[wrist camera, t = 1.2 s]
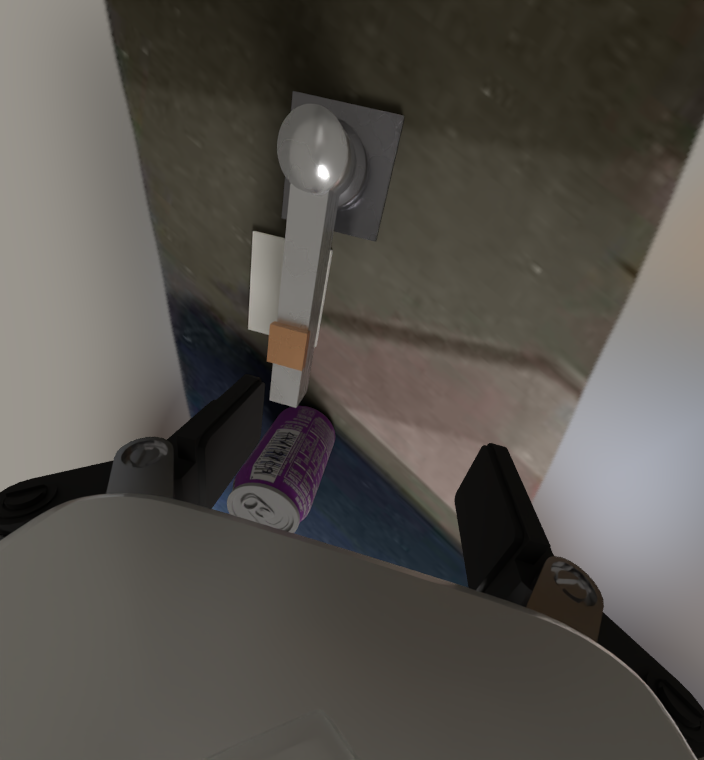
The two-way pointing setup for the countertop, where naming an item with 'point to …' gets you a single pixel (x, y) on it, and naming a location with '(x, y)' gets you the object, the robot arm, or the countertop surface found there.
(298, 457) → the beverage can
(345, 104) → the pivot pedestal
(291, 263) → the grey long bar
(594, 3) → the countertop surface
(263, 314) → the label plate
